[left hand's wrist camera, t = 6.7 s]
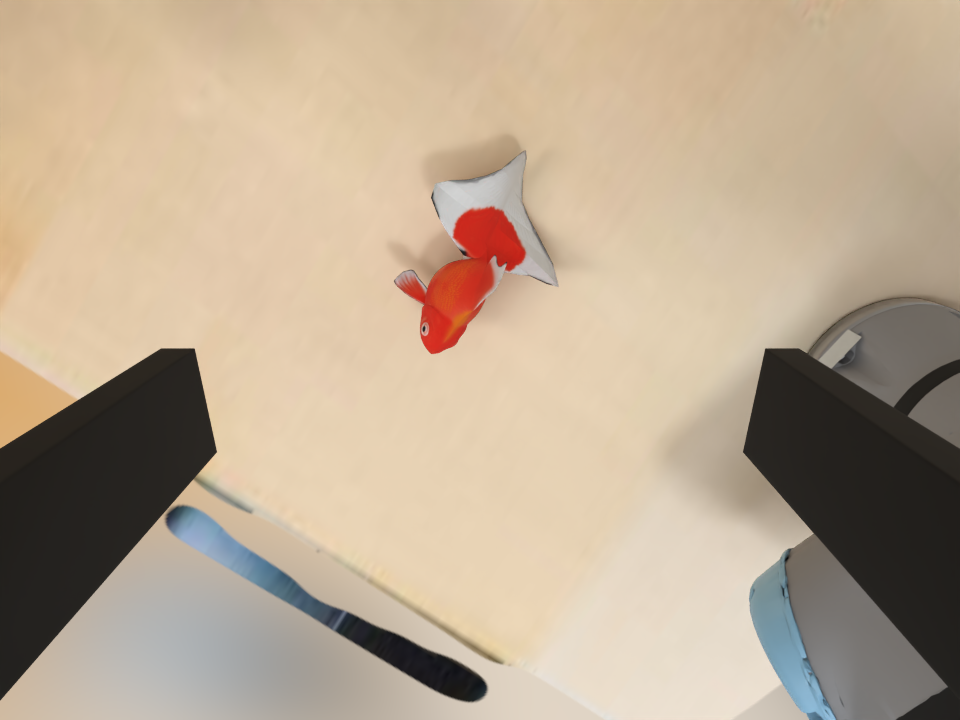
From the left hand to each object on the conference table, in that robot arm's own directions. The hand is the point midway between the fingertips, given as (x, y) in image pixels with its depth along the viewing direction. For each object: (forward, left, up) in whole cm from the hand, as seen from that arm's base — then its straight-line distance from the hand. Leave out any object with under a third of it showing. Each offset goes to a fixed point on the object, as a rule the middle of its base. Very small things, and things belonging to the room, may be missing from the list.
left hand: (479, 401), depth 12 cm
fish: (-1, +1, -32) cm, 32 cm away
